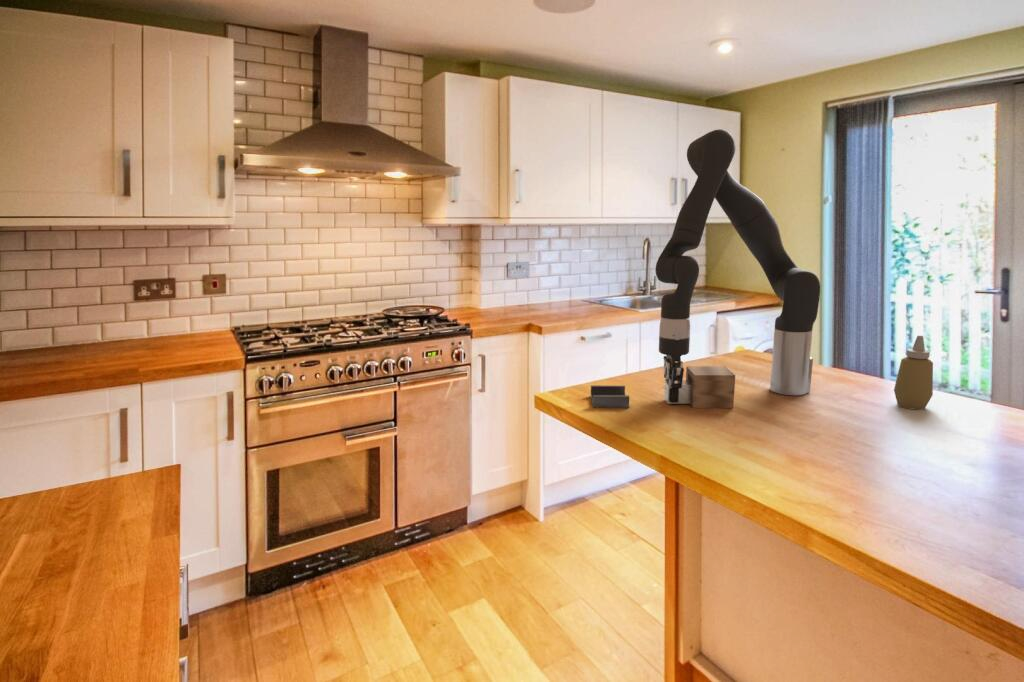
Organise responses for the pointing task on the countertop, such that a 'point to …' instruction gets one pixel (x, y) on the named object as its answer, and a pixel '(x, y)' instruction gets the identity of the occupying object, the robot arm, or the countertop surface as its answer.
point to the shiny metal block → (680, 392)
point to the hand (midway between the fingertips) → (671, 399)
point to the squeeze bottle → (915, 378)
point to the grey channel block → (609, 396)
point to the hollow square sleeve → (711, 386)
